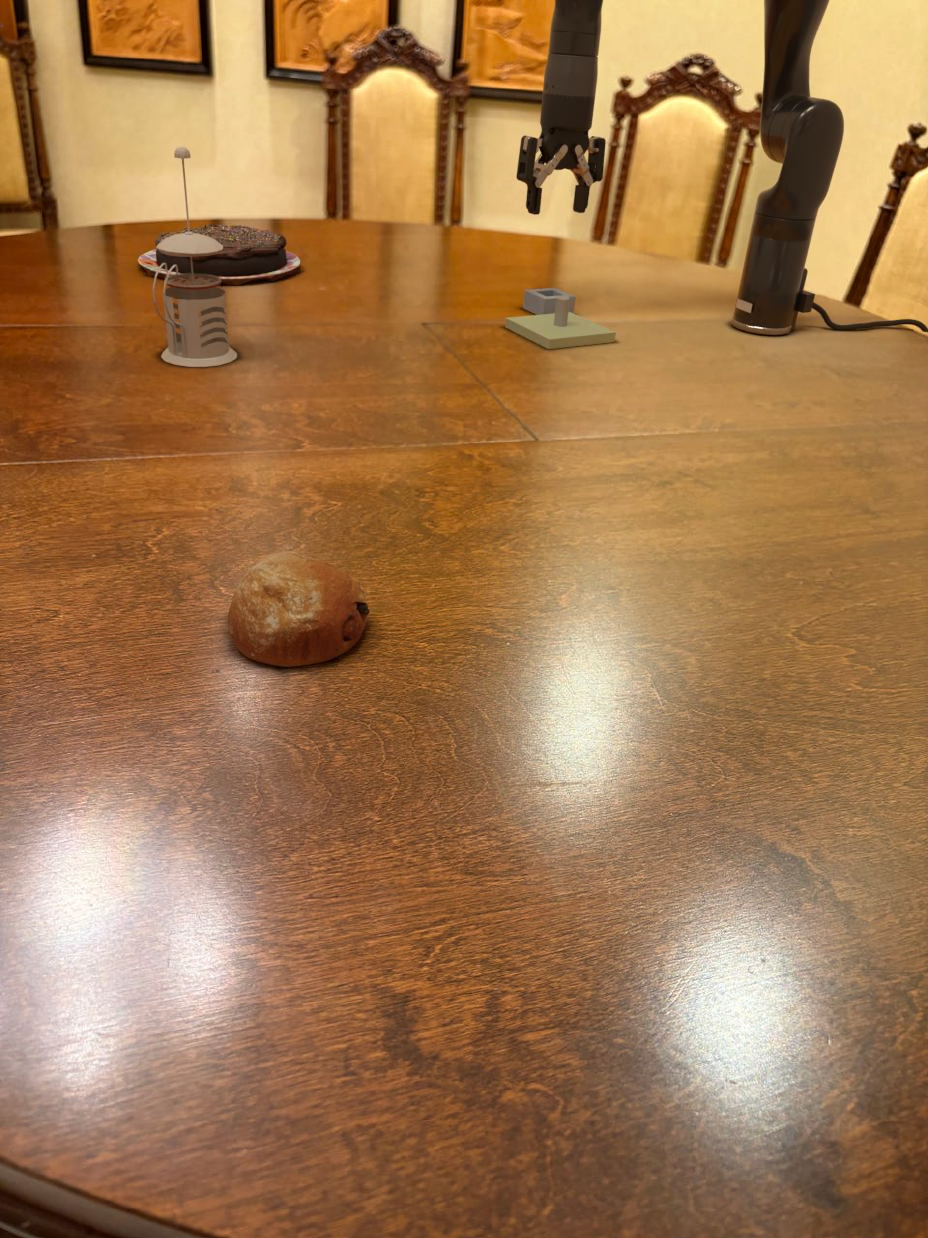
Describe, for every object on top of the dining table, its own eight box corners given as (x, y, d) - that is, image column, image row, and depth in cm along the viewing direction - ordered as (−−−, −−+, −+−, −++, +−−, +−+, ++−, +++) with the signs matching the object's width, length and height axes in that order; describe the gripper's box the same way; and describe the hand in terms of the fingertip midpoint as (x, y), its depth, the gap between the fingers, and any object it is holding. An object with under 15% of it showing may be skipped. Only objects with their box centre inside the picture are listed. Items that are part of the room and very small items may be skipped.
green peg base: (568, 321, 154) (573, 285, 151) (614, 342, 146) (619, 304, 143) (504, 327, 149) (507, 290, 146) (548, 349, 140) (552, 310, 137)
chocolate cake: (103, 270, 164) (98, 229, 161) (201, 244, 187) (198, 207, 183) (245, 294, 156) (242, 252, 153) (329, 264, 179) (329, 226, 175)
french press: (252, 352, 130) (240, 147, 117) (197, 375, 121) (178, 155, 108) (193, 340, 134) (175, 139, 120) (135, 361, 125) (109, 146, 111)
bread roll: (264, 635, 79) (214, 556, 74) (379, 589, 77) (335, 506, 73) (251, 709, 70) (194, 625, 66) (380, 659, 69) (330, 570, 65)
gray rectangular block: (552, 305, 162) (554, 287, 161) (573, 315, 158) (575, 296, 156) (522, 308, 159) (524, 289, 158) (542, 317, 155) (544, 298, 154)
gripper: (544, 92, 132) (532, 219, 141) (624, 94, 139) (608, 215, 147) (513, 87, 137) (503, 210, 146) (592, 90, 144) (578, 207, 153)
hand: (556, 212), depth 147 cm, fingers open, 8 cm apart
